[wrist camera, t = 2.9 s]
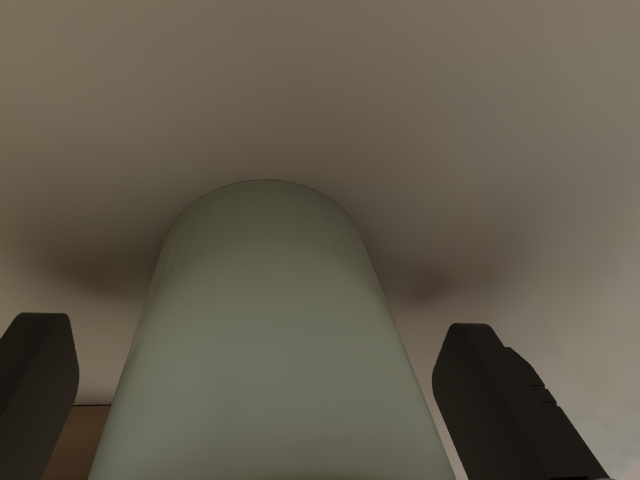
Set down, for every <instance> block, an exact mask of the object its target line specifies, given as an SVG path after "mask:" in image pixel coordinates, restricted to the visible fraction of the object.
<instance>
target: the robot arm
mask: <svg viewBox="0 0 640 480" xmlns="http://www.w3.org/2000/svg"><path fill="white" fill-rule="evenodd" d="M78 385H79V366H78V360H77V355H76V350H75V345H74V340H73V335H72V329H71V324H70V320H69V317H68V316H67V315H66V314H64V313H26V312H23V313H20V314H19V315H17V316H16V318H15V319H14V320H13V322H12V323H11V325H10V326H9V327H8V329H7V330H6V332H5V333H4V335H3V336H2V338H1V339H0V480H41V479H42V477H43V474H44V472H45V470H46V467H47V465H48V463H49V460H50V458H51V455H52V453H53V451H54V448H55V446H56V444H57V441H58V439H59V436H60V434H61V432H62V429H63V427H64V425H65V422H66V420H67V417H68V415H69V413H70V410H71V408H72V406H73V403H74V401H75V398H76V394H77V390H78ZM432 389H433V394H434V397H435V400H436V403H437V405H438V407H439V410H440V412H441V415H442V417H443V419H444V422H445V424H446V426H447V429H448V431H449V434H450V436H451V438H452V441H453V443H454V446H455V448H456V450H457V453H458V455H459V458H460V460H461V462H462V465H463V467H464V470H465V472H466V474H467V477H468V479H469V480H615V479H610V477H609V476H608V475H607V473H606V472H605V471H604V469H603V468H602V466H601V465H600V463H599V462H598V461H597V459H596V458H595V456H594V455H593V453H592V452H591V450H590V449H589V448H588V446H587V445H586V443H585V442H584V440H583V439H582V438H581V436H580V435H579V433H578V432H577V430H576V429H575V428H574V426H573V425H572V423H571V422H570V420H569V419H568V418H567V416H566V415H565V413H564V412H563V410H562V409H561V407H558V406H557V404H556V403H557V402H556V400H555V399H554V397H553V396H552V395H551V393H550V392H549V390H548V389H545V385H544V383H543V382H542V380H541V379H540V377H539V376H538V374H537V373H536V372H535V370H534V369H533V367H532V366H531V365H530V364H529V363H528V362H527V361H526V360H525V359H523V358H522V357H521V356H520V355H519V354H518V353H516V352H515V351H514V350H513V349H512V348H510V347H504V345H503V344H502V342H501V341H500V339H499V338H498V336H497V335H496V333H495V332H494V330H493V329H492V328H491V327H490V326H489V325H487V324H474V323H454V324H452V325H451V326H450V327H449V329H448V332H447V335H446V337H445V340H444V343H443V345H442V348H441V351H440V353H439V356H438V359H437V361H436V364H435V367H434V370H433V374H432Z"/></svg>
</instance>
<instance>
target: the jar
mask: <svg viewBox="0 0 640 480" xmlns="http://www.w3.org/2000/svg"><path fill="white" fill-rule="evenodd" d="M87 480H456V477H455V474H454V472H453V469H452V467H451V464H450V462H449V459H448V457H447V454H446V452H445V449H444V447H443V444H442V441H441V439H440V436H439V434H438V431H437V429H436V426H435V424H434V421H433V419H432V416H431V413H430V411H429V408H428V406H427V403H426V401H425V398H424V396H423V393H422V391H421V388H420V386H419V383H418V380H417V378H416V375H415V373H414V370H413V368H412V365H411V363H410V360H409V358H408V355H407V353H406V350H405V347H404V345H403V342H402V340H401V337H400V335H399V332H398V330H397V327H396V325H395V322H394V319H393V317H392V314H391V312H390V309H389V307H388V304H387V302H386V299H385V297H384V294H383V292H382V289H381V286H380V284H379V281H378V279H377V276H376V274H375V271H374V269H373V266H372V264H371V261H370V258H369V256H368V253H367V251H366V248H365V246H364V243H363V241H362V238H361V236H360V233H359V231H358V230H357V228H356V226H355V224H354V222H353V221H352V220H351V218H350V217H349V216H348V214H347V213H346V212H345V211H344V210H343V209H342V208H341V207H340V206H339V205H337V204H336V203H335V202H333V201H332V200H331V199H329V198H328V197H326V196H324V195H323V194H321V193H319V192H317V191H315V190H313V189H310V188H308V187H305V186H302V185H299V184H295V183H291V182H285V181H278V180H253V181H244V182H240V183H235V184H231V185H228V186H225V187H222V188H220V189H217V190H214V191H213V192H211V193H209V194H207V195H205V196H203V197H201V198H200V199H199V200H197V201H196V202H194V203H193V204H191V205H190V206H189V207H188V208H187V209H186V210H185V211H184V212H183V213H182V214H181V215H180V216H179V217H178V219H177V220H176V221H175V222H174V224H173V225H172V227H171V229H170V230H169V232H168V234H167V236H166V239H165V241H164V244H163V247H162V250H161V253H160V256H159V259H158V262H157V265H156V268H155V271H154V275H153V278H152V281H151V284H150V287H149V290H148V293H147V296H146V299H145V302H144V306H143V309H142V312H141V315H140V318H139V321H138V324H137V327H136V330H135V333H134V337H133V340H132V343H131V346H130V349H129V352H128V355H127V358H126V361H125V364H124V368H123V371H122V374H121V377H120V380H119V383H118V386H117V389H116V392H115V395H114V399H113V402H112V405H111V408H110V411H109V414H108V417H107V420H106V423H105V426H104V430H103V433H102V436H101V439H100V442H99V445H98V448H97V451H96V454H95V457H94V461H93V464H92V467H91V470H90V473H89V476H88V479H87Z"/></svg>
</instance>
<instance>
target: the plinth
mask: <svg viewBox="0 0 640 480" xmlns="http://www.w3.org/2000/svg"><path fill="white" fill-rule="evenodd" d="M110 408H111V406H72V408H71V410H70V413H69V415H68V417H67V420H66V422H65V425H64V427H63V429H62V432H61V434H60V436H59V439H58V441H57V444H56V446H55V448H54V451H53V453H52V455H51V458H50V460H49V463H48V465H47V467H46V470H45V472H44V474H43V477H42V479H41V480H87V479H88V476H89V473H90V470H91V467H92V464H93V461H94V457H95V454H96V451H97V448H98V445H99V442H100V439H101V436H102V433H103V430H104V426H105V423H106V420H107V417H108V414H109V411H110Z"/></svg>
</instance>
